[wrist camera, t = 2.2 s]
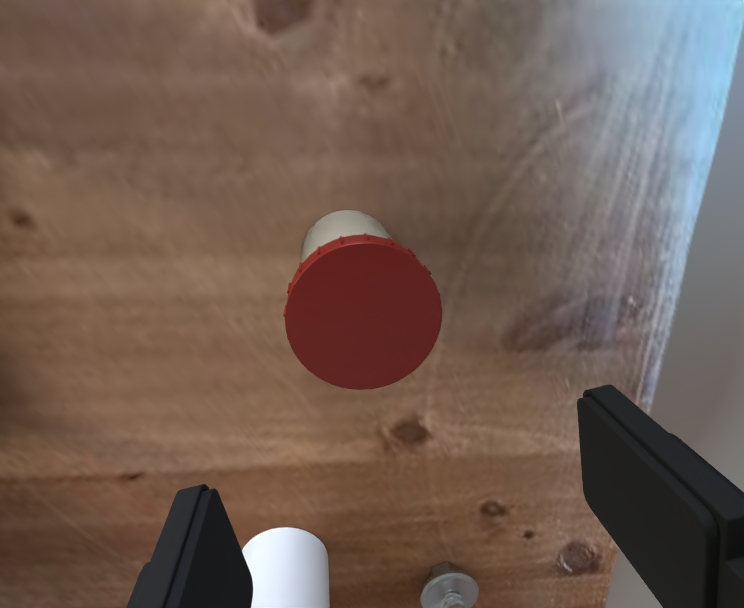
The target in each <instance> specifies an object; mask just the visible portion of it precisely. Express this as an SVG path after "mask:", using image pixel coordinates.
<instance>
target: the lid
mask: <svg viewBox="0 0 744 608" xmlns="http://www.w3.org/2000/svg"><path fill="white" fill-rule="evenodd" d="M339 237H340V238H338V239H335V240H333V241H330V242H328V243H326V244H324V245H323V246H321V247H320V246H318V247H317V250H315V251H314V252H313V253H312V254H310V255H309V256H308V257H307V259H306V260H305V261H304V262H303V263H302V262H301V263H300V265H299V269H298V270H297V272H296V274H295V276H294V278H293V280H292V283H289V286H288V292H287V293H288V298H287V304H286V305H285V310H284V317H285V325H286V332H287V338H288V340H289V342H290V345H291V348H292V349H293V351H294V353H295V355H296V356H297V358H298V359H299V360H300V362H301V363H302V364H303V365H304V366H305V367H306V368H307V369H308V370H309V371H310V372H311V373H313V374H314V375H315V376H317V377H318V378H320V379H322V380H323V381H325V382H328V383H330V384H332V385H335V386H339V387H342V388H348V389H359V390H363V389H374V388H379V387H383V386H386V385H389V384H392V383H394V382H396V381H399V380H400V379H402V378H404V377H406V376H407V375H409V374H410V373H411V372H413V371H414V370H415V369H416V368H417V367H418V366H419V365H420V364H421V363H422V362H423V361H424V360H425V359H426V357H427V356H428V355H429V353H430V352H431V350H432V348H433V346H434V344H435V342H436V340H437V337H438V334H439V331H440V326H441V319H442V308H441V300H440V294H439V292H438V290H437V287H436V285H435V283H434V281H433V279H432V277H431V276H430V274H431V273H430V271H429V270H428V269H427V268H426V267H425V265H424V266H423V265H422V264H421V263H420V262H419V260H418V259H417V258H416V257H415V255H414V253H413V252H412V251H411V250H410V249H408V250H407V249H406V248H405V247H403V246H402V245H400V244H398V243H396V242H394V241H392V240H391V239H390V238H389V237H388V238H384V237H379V236H375V235H367V233H364V235H351V236H345V237H342V236H339Z"/></svg>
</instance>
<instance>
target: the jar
mask: <svg viewBox="0 0 744 608" xmlns="http://www.w3.org/2000/svg"><path fill="white" fill-rule="evenodd" d="M364 233H367V235H375V236H379V237H384V238H388V237H389V238H390V239H391V240H392V241H394V240H393V238H392V237H391V236H390V234H389V233H388V231H387V230H386V229H385V228H384V226H383V225H382V224H381V223H380V222H379V221H378V220H376V219H375V218H374V217H372V216H370V215H368V214H366V213H363V212H359V211H354V210H342V211H337V212H333V213H331V214H328V215H326V216H324V217H323V218H321V219H320V220H319V221H317V222H316V223H315V224H314V225H313V226H312V227H311V229H310V230H309V232H308V233H307V235H306V237H305V240H304V242H303V246H302V252H301V261H300V263H301V262H302V263H303V262H304V261H305V260H306V259H307V257H308V256H309V255H310V254H312V253H313V252H314V251H315V250H317V247H318V246H320V247H321V246H323V245H324V244H326V243H328V242H330V241H333V240H335V239H338V238H340V237H339V236H342V237H345V236H351V235H364ZM394 242H395V241H394Z"/></svg>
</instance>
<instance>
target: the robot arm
mask: <svg viewBox="0 0 744 608" xmlns="http://www.w3.org/2000/svg"><path fill="white" fill-rule="evenodd" d="M577 409H578V423H579V438H580V452H581V466H582V480H583V491H584V496H585V499H586V501H587V503H588V505H589V507H590V508H591V510H592V511H593V512H594V514H595V515H596V516H597V518H598V519H599V521H600V522H601V523H602V525H603V526H604V527H605V529H606V530H607V532H608V533H609V534H610V536H611V537H612V538H613V540H614V541H615V542H616V544H617V545H618V547H619V548H620V549H621V551H622V552H623V553H624V554H625V556H626V558H627V559H628V560H629V562H630V563H631V564H632V566H633V567H634V568H635V570H636V571H637V572H638V574H639V575H640V577H641V578H642V579H643V581H644V582H645V583H646V585H647V586H648V588H649V589H650V590H651V592H652V593H653V594H654V596H655V597H656V599H657V600H658V601H659V603H660V604H661V605H662V607H663V608H744V492H742V491H741V490H740V489H739V488H738V487H736V486H735V485H734V484H733V483H732V482H730V481H729V480H728V479H727V478H726V477H725V476H723V475H722V474H721V473H720V472H718V471H717V470H716V469H715V468H714V467H713V466H711V465H710V464H709V463H708V462H707V461H705V460H704V459H703V458H702V457H701V456H699V455H698V454H697V453H696V452H695V451H694V450H692V449H691V448H690V447H689V446H688V445H686V444H685V443H684V442H683V441H682V440H681V439H679V438H678V437H676V436H675V435H673V434H671V433H668V432H667V431H665V430H664V429H663V428H662V427H661V426H660V425H658V424H657V423H656V422H655V421H653V419H651V418H650V417H649V416H648V415H647V414H646V413H644V412H643V411H642V410H641V409H640V408H639V407H637V406H636V405H635V404H634V403H633V402H632V401H630V400H629V399H628V398H627V397H626V396H625V395H623V394H622V393H621V392H620V391H619V390H617V389H616V388H615V387H614V386H612V385H605V386H601V387H597V388H593V389H588V390H586V391H584V393H583V398H579V399H578V401H577ZM252 597H253V580H252V576H251V573H250V570H249V568H248V565H247V563H246V560H245V558H244V555H243V553H242V550H241V548H240V545H239V543H238V541H237V538H236V536H235V533H234V531H233V528H232V526H231V523H230V521H229V518H228V516H227V513H226V511H225V508H224V506H223V503H222V501H221V498H220V496H219V493H218V491H217V490H216V489H210V490H209V488H208V486H207V485H205V484H202V485H198V486H194V487H190V488H186V489H182V490H179V491H178V492H177V494H176V496H175V499H174V501H173V504H172V506H171V509H170V512H169V514H168V517H167V519H166V522H165V525H164V527H163V530H162V532H161V535H160V538H159V540H158V543H157V545H156V548H155V551H154V553H153V556H152V558H151V561H150V562H148V563H147V564H146V565H145V566H144V567H143V569H142V571H141V572H140V575H139V577H138V580H137V582H136V585H135V587H134V590H133V592H132V595H131V597H130V600H129V602H128V605H127V607H126V608H251V605H252Z"/></svg>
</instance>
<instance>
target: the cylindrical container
mask: <svg viewBox="0 0 744 608" xmlns="http://www.w3.org/2000/svg"><path fill="white" fill-rule="evenodd" d="M242 553H243V555H244V558H245V560H246V563H247V565H248V568H249V570H250V573H251V576H252V580H253V597H252V605H251V608H330V603H329V566H328V554H327V550H326V548H325V546H324V544H323V543H322V542H321V541H320V540H319V539H318V538H317V537H316V536H314V535H313V534H311V533H309V532H307V531H304V530H301V529H297V528H290V527H285V528H275V529H270V530H267V531H265V532H262V533H260V534H258V535H257V536H255V537H254V538H252V539H251V540H250V541H249V542H248V543H247V544H246V545H245V546H244V548H243V550H242Z"/></svg>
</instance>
